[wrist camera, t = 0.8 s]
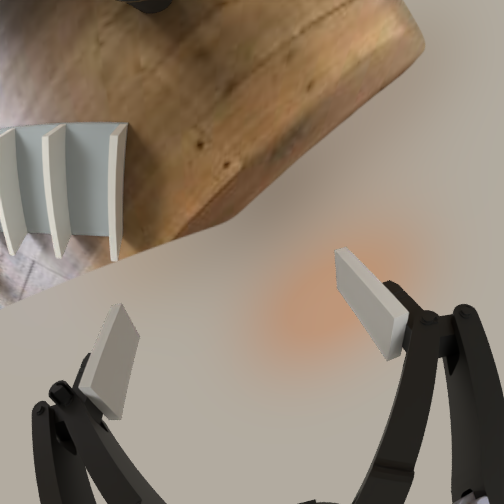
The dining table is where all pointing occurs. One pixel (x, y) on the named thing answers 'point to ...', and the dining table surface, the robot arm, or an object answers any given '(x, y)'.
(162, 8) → the drinking cup
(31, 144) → the slot rack
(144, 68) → the dining table surface
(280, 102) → the dining table surface
